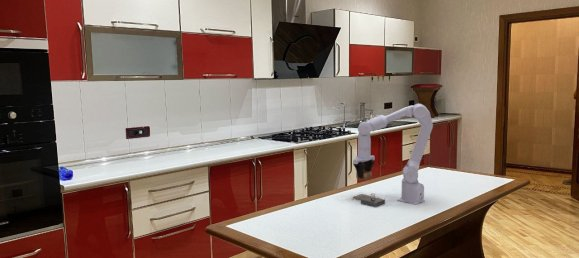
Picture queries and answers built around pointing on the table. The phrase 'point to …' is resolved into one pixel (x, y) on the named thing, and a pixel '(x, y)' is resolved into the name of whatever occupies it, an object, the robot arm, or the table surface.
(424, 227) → the table surface
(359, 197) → the mat
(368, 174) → the brown wooden box
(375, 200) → the vise block
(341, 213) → the table surface
